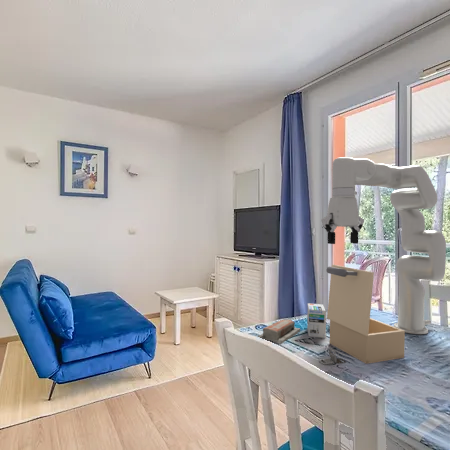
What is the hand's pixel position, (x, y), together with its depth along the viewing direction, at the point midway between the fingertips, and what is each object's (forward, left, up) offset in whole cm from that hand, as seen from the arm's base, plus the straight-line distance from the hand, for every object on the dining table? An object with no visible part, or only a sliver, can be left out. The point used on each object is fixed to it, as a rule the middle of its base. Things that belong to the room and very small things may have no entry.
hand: (342, 243), depth 109 cm
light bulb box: (-3, -19, -38) cm, 42 cm away
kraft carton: (-9, +1, -38) cm, 39 cm away
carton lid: (-2, +1, -18) cm, 19 cm away
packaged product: (+12, -21, -38) cm, 45 cm away
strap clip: (+8, +6, -38) cm, 39 cm away
